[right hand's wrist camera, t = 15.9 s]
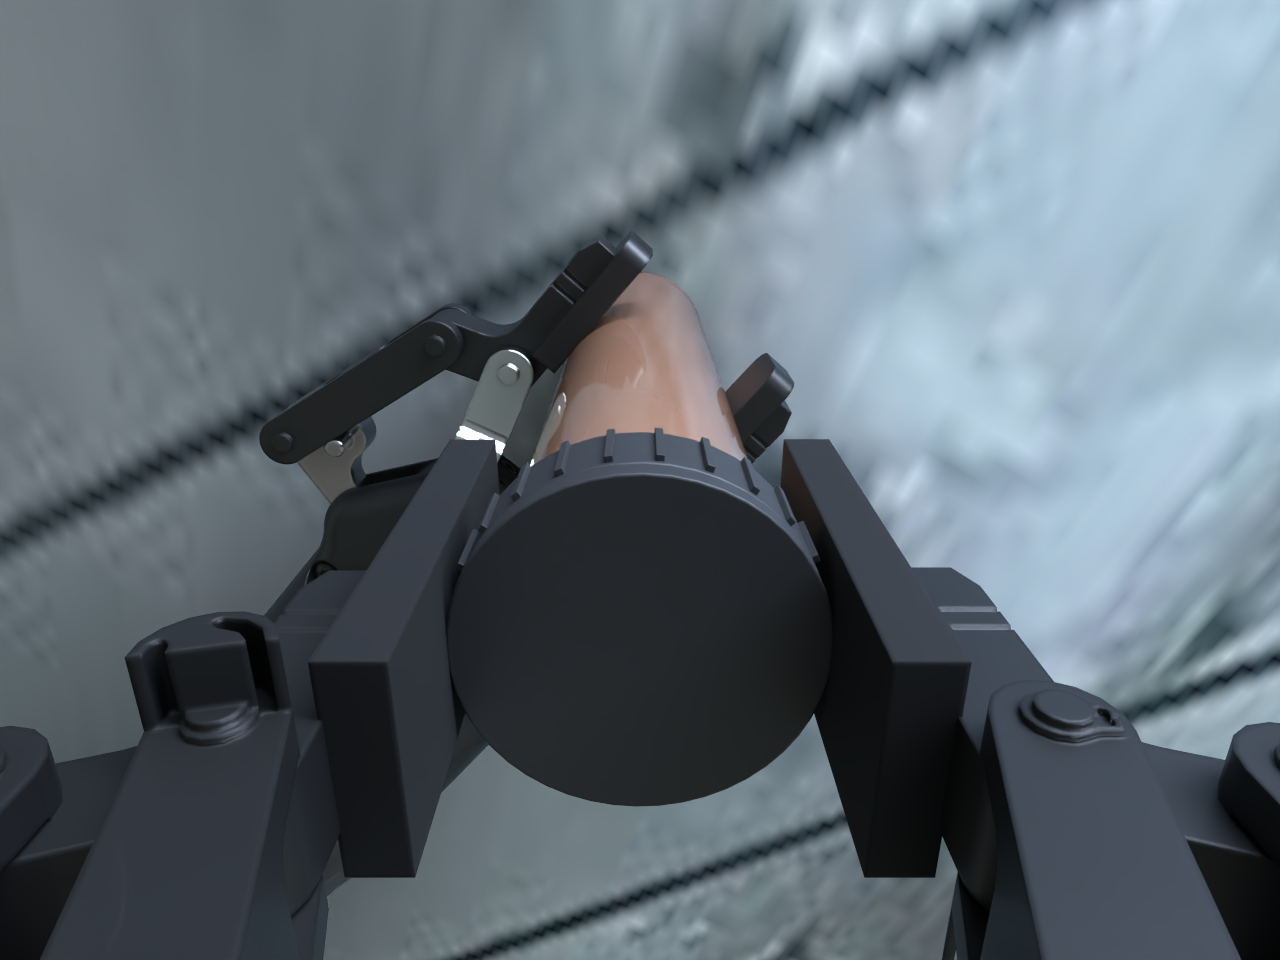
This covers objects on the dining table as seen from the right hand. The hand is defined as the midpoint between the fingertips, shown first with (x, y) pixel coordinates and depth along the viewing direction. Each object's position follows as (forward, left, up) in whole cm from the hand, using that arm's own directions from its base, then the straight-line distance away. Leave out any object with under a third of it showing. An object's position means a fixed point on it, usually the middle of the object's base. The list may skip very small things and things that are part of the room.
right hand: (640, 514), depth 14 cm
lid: (0, 0, +4) cm, 4 cm away
